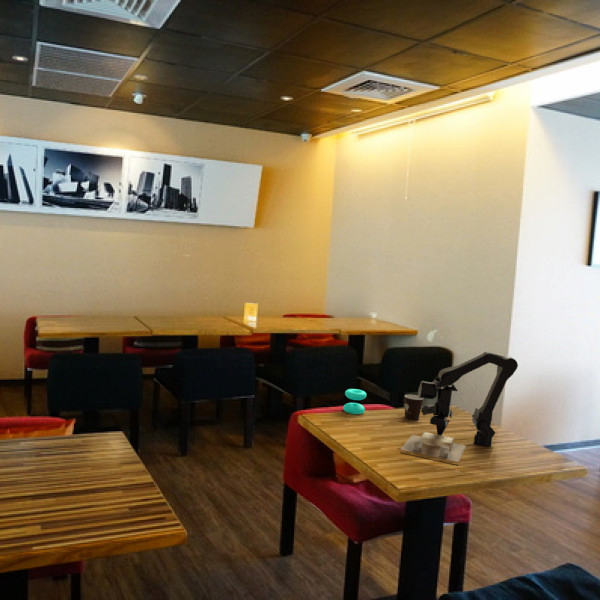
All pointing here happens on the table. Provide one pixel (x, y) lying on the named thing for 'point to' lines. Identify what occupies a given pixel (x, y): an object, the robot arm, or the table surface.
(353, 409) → the donuts
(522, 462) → the table surface
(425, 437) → the maple plate
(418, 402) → the coffee mug
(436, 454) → the bench board
